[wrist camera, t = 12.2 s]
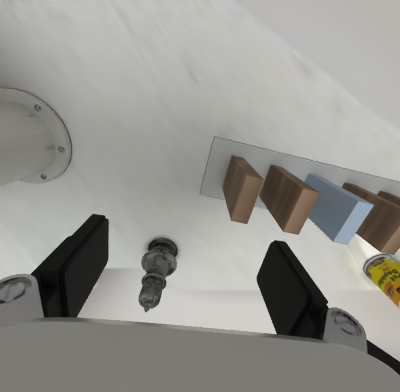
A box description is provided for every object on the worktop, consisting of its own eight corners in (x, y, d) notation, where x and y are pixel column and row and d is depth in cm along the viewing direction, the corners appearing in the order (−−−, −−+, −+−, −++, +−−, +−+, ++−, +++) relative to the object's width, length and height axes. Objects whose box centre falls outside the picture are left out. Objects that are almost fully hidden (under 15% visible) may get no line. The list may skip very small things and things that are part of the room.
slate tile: (294, 203, 31) (333, 241, 22) (308, 173, 29) (358, 201, 20) (304, 206, 31) (347, 244, 22) (319, 176, 29) (374, 205, 20)
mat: (199, 193, 31) (199, 194, 31) (214, 136, 27) (214, 136, 27) (379, 232, 34) (381, 234, 33) (412, 185, 30) (415, 186, 30)
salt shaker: (147, 234, 34) (122, 292, 23) (181, 239, 34) (171, 298, 23) (145, 260, 36) (121, 324, 25) (176, 264, 37) (166, 329, 26)
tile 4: (328, 211, 32) (380, 251, 22) (344, 182, 30) (409, 213, 20) (338, 213, 32) (394, 254, 23) (355, 184, 30) (424, 216, 21)
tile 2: (258, 195, 31) (283, 231, 21) (270, 164, 29) (303, 189, 19) (269, 198, 31) (298, 234, 22) (282, 167, 29) (320, 192, 20)
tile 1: (222, 187, 30) (231, 220, 21) (231, 155, 28) (246, 175, 19) (233, 190, 30) (247, 224, 21) (243, 157, 28) (264, 179, 19)
